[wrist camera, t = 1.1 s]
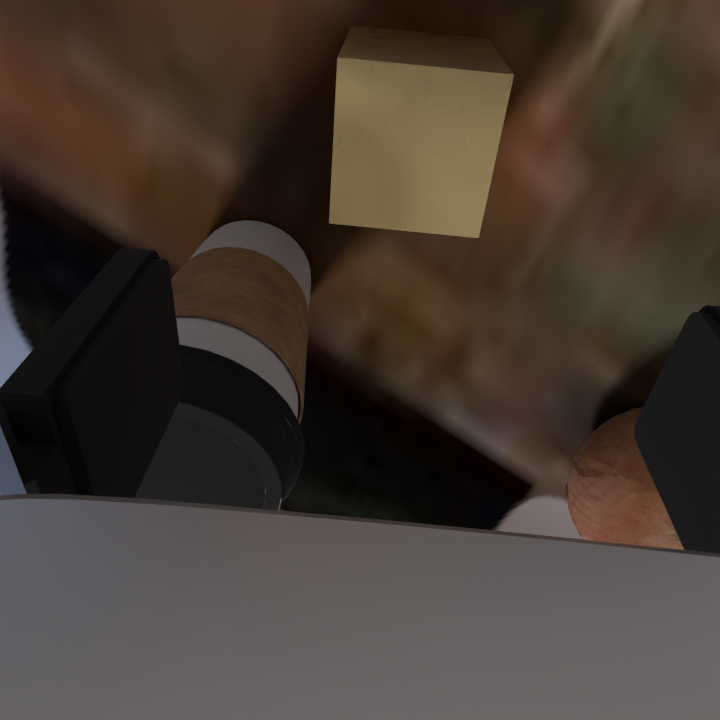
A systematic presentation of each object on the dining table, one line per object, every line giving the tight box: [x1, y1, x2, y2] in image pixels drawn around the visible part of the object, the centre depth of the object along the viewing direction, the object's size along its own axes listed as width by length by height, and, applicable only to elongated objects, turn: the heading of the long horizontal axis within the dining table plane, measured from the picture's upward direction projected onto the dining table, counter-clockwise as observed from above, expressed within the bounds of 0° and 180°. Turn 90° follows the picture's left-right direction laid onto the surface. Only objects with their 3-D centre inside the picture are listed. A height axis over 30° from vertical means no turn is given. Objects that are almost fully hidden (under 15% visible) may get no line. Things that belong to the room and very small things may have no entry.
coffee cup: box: [135, 220, 311, 510], centre depth 25 cm, size 8×8×15 cm
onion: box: [566, 407, 684, 550], centre depth 33 cm, size 10×9×10 cm
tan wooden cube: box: [329, 25, 514, 238], centre depth 23 cm, size 6×6×7 cm
